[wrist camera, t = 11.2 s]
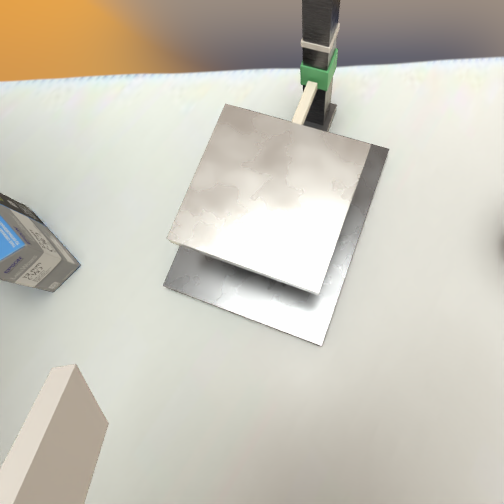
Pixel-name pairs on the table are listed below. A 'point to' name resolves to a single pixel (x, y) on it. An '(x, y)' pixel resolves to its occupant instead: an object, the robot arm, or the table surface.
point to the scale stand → (322, 305)
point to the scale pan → (271, 195)
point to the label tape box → (31, 249)
